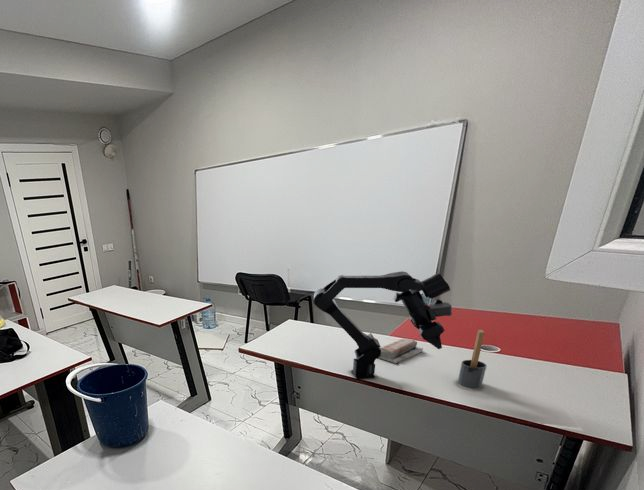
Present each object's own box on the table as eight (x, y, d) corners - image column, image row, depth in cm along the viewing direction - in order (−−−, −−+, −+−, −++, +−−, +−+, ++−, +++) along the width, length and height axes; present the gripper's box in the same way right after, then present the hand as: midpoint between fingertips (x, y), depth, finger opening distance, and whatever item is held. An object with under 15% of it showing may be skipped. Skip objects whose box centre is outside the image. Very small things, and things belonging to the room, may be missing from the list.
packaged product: (397, 353, 138) (373, 346, 146) (396, 364, 140) (372, 356, 148) (425, 340, 145) (400, 334, 154) (423, 351, 147) (399, 345, 156)
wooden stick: (468, 385, 120) (479, 332, 113) (466, 381, 122) (478, 329, 115) (472, 385, 119) (484, 332, 112) (470, 382, 121) (482, 329, 114)
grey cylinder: (465, 390, 118) (469, 368, 115) (453, 381, 124) (457, 360, 121) (486, 389, 118) (491, 367, 115) (472, 380, 123) (477, 359, 120)
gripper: (451, 301, 108) (473, 343, 111) (434, 286, 124) (453, 323, 127) (412, 318, 114) (434, 358, 116) (400, 302, 130) (419, 337, 132)
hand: (436, 343), depth 123 cm, fingers open, 9 cm apart
